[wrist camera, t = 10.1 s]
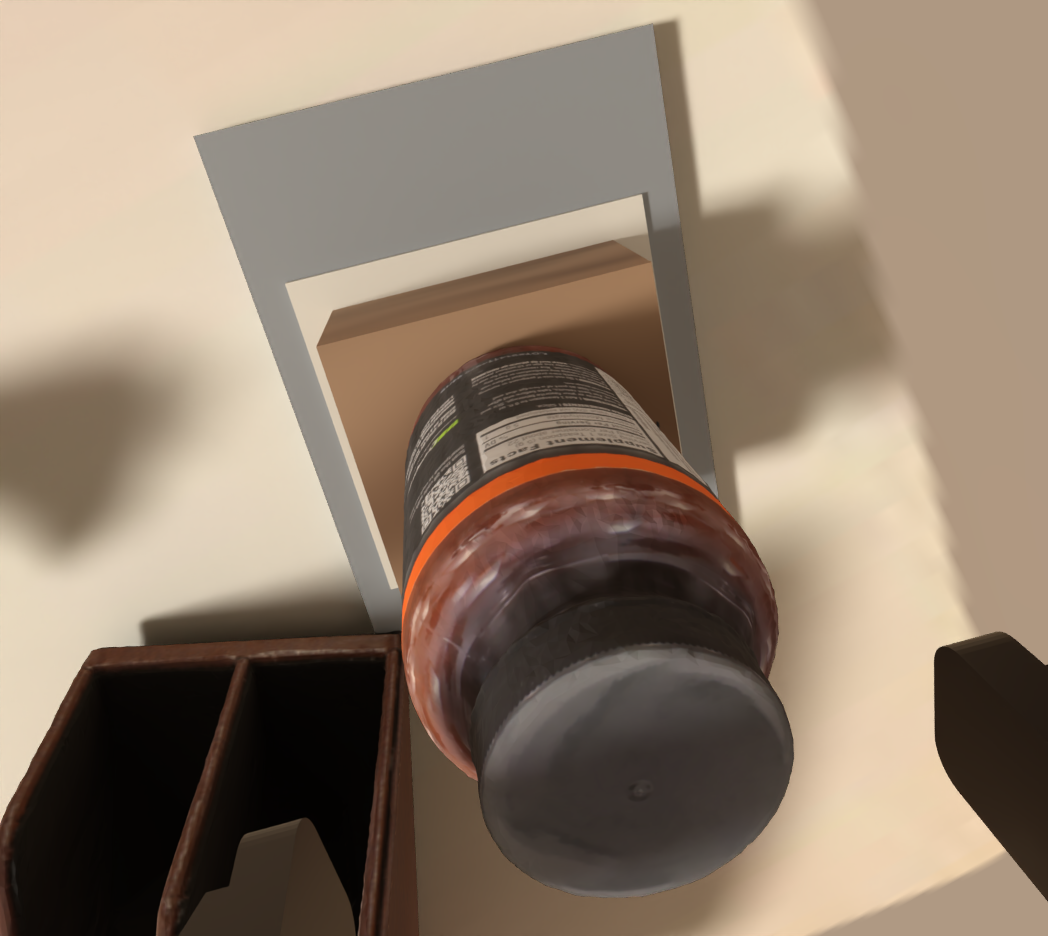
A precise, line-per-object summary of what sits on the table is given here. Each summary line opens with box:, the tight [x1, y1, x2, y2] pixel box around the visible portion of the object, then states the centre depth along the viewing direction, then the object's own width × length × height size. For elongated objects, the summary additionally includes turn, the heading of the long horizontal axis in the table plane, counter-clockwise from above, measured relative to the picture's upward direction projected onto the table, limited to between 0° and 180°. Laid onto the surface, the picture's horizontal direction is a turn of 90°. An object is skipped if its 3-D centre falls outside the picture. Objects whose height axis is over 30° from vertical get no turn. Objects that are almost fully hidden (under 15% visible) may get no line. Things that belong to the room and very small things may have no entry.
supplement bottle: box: [401, 345, 794, 898], centre depth 15 cm, size 6×6×11 cm
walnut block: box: [316, 240, 682, 596], centre depth 22 cm, size 8×8×4 cm
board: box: [193, 24, 719, 634], centre depth 24 cm, size 16×12×1 cm
